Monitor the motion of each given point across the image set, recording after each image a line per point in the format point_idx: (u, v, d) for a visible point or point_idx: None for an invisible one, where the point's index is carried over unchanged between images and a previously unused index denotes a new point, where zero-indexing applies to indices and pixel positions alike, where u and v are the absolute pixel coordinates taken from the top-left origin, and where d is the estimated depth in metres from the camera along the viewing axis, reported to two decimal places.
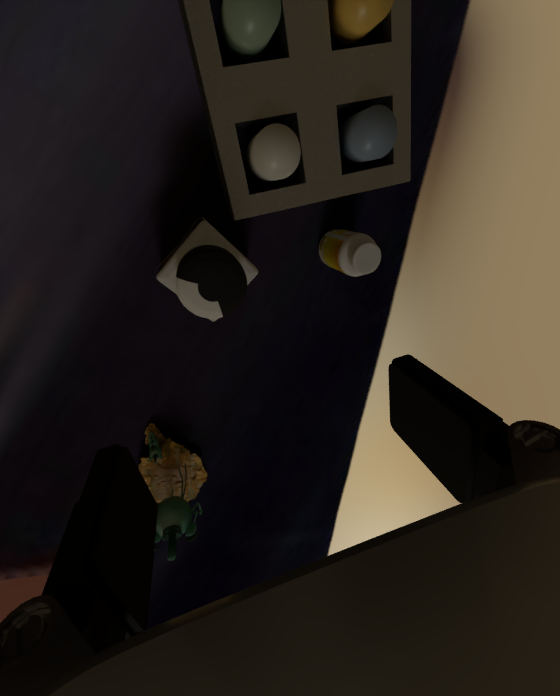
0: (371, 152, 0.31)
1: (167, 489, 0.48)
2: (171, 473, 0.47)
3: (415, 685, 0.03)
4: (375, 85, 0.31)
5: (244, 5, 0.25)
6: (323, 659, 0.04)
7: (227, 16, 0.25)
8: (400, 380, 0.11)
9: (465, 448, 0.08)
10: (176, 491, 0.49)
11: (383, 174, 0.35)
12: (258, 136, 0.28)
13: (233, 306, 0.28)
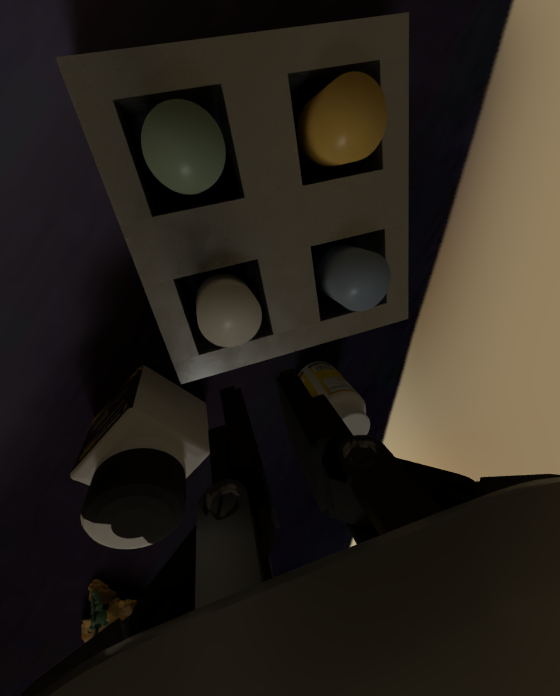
0: (356, 304, 0.24)
1: None
2: None
3: (415, 685, 0.03)
4: (361, 220, 0.24)
5: (172, 153, 0.17)
6: (323, 659, 0.04)
7: (148, 166, 0.18)
8: (281, 392, 0.11)
9: (311, 460, 0.09)
10: None
11: (374, 315, 0.27)
12: (202, 303, 0.21)
13: (166, 534, 0.21)
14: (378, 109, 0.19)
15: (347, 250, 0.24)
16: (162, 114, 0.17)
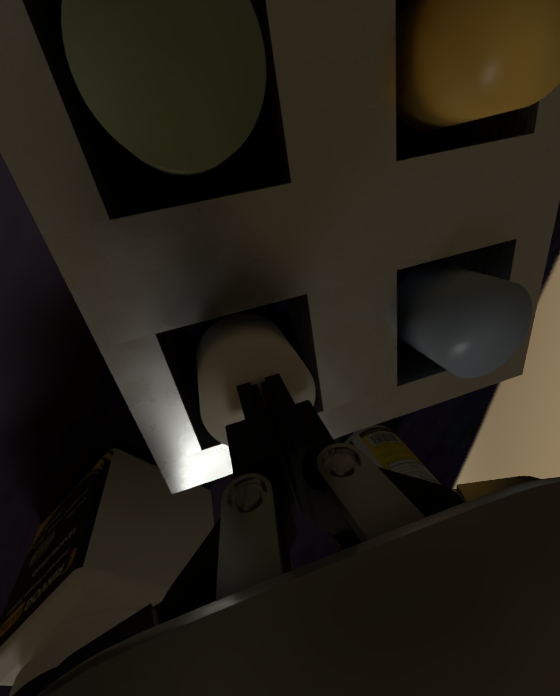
0: (470, 367, 0.14)
1: None
2: None
3: (415, 685, 0.03)
4: (484, 225, 0.14)
5: (142, 70, 0.07)
6: (323, 659, 0.04)
7: None
8: (266, 398, 0.11)
9: (292, 468, 0.09)
10: None
11: None
12: (210, 383, 0.11)
13: None
14: None
15: (457, 276, 0.14)
16: None
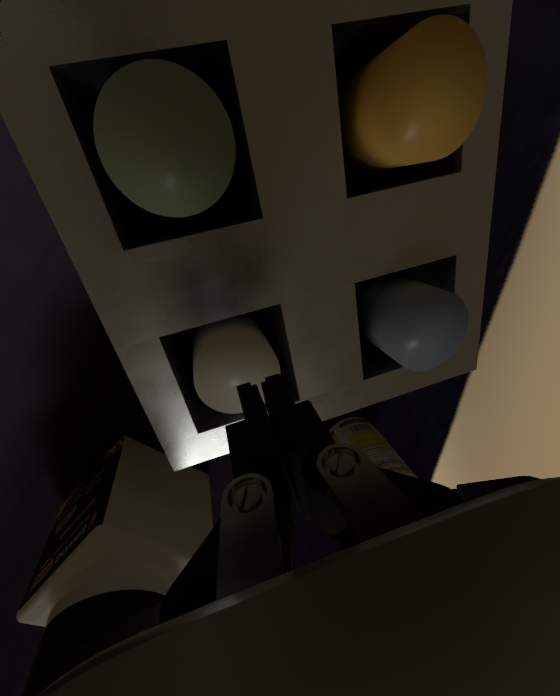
0: (419, 362, 0.17)
1: None
2: None
3: (415, 685, 0.03)
4: (427, 245, 0.17)
5: (147, 152, 0.11)
6: (323, 659, 0.04)
7: None
8: (266, 398, 0.11)
9: (292, 469, 0.09)
10: None
11: None
12: (200, 361, 0.15)
13: None
14: (474, 78, 0.12)
15: (406, 287, 0.17)
16: (128, 86, 0.10)
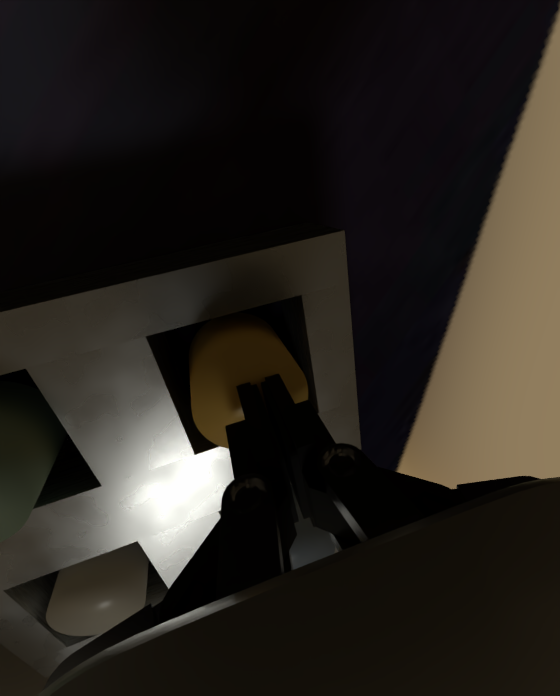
0: None
1: None
2: None
3: (415, 685, 0.03)
4: None
5: None
6: (323, 659, 0.04)
7: None
8: (266, 398, 0.11)
9: (292, 468, 0.09)
10: None
11: None
12: (51, 606, 0.15)
13: None
14: (292, 385, 0.12)
15: None
16: None
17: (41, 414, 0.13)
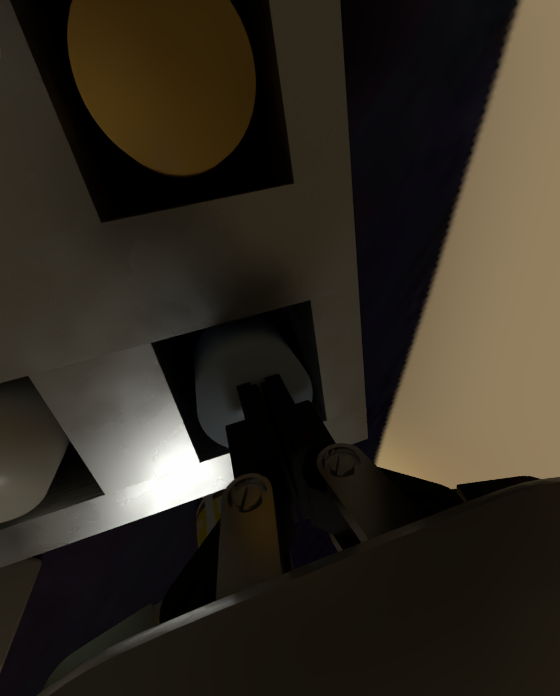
0: None
1: None
2: None
3: (415, 685, 0.03)
4: (259, 288, 0.12)
5: None
6: (323, 659, 0.04)
7: None
8: (266, 398, 0.11)
9: (292, 468, 0.09)
10: None
11: None
12: None
13: None
14: (230, 52, 0.08)
15: (229, 338, 0.12)
16: None
17: None
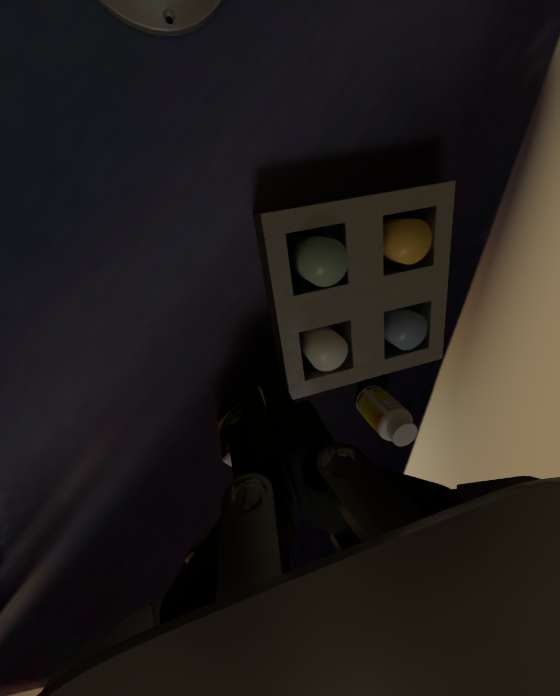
0: (405, 345, 0.38)
1: None
2: None
3: (415, 685, 0.03)
4: (417, 296, 0.36)
5: (319, 265, 0.30)
6: (323, 659, 0.04)
7: (304, 272, 0.30)
8: (266, 398, 0.11)
9: (292, 469, 0.09)
10: None
11: (419, 355, 0.39)
12: (315, 344, 0.34)
13: None
14: (426, 237, 0.33)
15: (399, 311, 0.37)
16: (318, 246, 0.29)
17: None
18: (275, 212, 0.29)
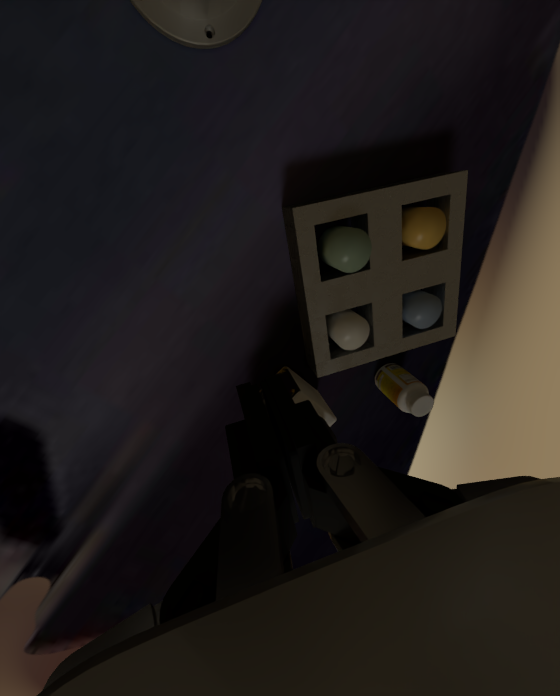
0: (421, 324, 0.41)
1: None
2: None
3: (415, 685, 0.03)
4: (432, 278, 0.39)
5: (345, 253, 0.33)
6: (323, 659, 0.04)
7: (332, 260, 0.33)
8: (266, 398, 0.11)
9: (292, 468, 0.09)
10: None
11: (434, 334, 0.43)
12: (340, 325, 0.38)
13: None
14: (441, 223, 0.36)
15: (416, 293, 0.41)
16: (344, 235, 0.32)
17: None
18: (305, 206, 0.32)
